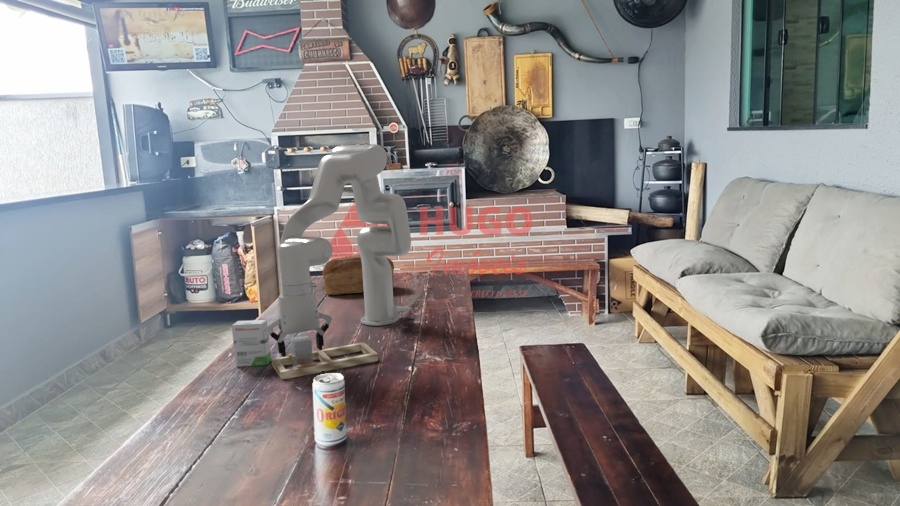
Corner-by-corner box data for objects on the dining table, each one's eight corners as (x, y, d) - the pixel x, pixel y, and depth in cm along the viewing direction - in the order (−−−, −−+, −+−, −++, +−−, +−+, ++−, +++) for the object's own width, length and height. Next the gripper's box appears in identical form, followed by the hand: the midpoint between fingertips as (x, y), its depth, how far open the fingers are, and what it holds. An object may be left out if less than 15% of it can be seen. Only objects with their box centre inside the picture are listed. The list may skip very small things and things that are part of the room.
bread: (396, 292, 253) (394, 256, 250) (323, 297, 249) (320, 261, 247) (394, 285, 265) (392, 251, 262) (325, 290, 261) (322, 256, 258)
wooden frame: (364, 348, 185) (363, 340, 185) (378, 360, 175) (377, 352, 174) (272, 365, 174) (271, 356, 174) (281, 379, 164) (280, 370, 163)
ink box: (272, 359, 179) (268, 318, 177) (266, 365, 175) (262, 323, 172) (241, 360, 180) (237, 319, 178) (235, 367, 175) (230, 325, 173)
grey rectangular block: (309, 363, 175) (307, 335, 174) (313, 368, 171) (311, 339, 170) (292, 366, 173) (290, 338, 172) (296, 371, 169) (294, 342, 168)
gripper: (325, 282, 175) (329, 342, 178) (259, 291, 168) (265, 354, 171) (332, 287, 169) (337, 350, 172) (265, 297, 161) (271, 362, 164)
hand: (301, 352), depth 171 cm, fingers open, 9 cm apart
